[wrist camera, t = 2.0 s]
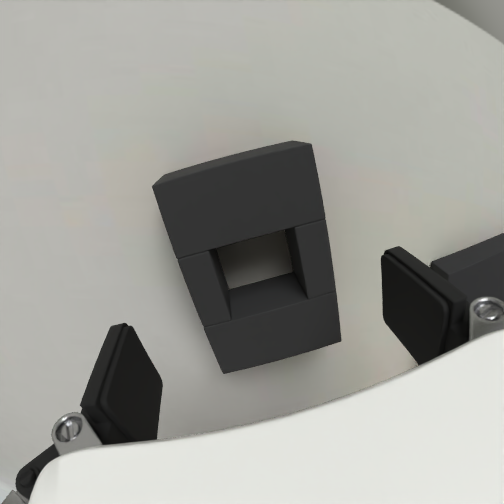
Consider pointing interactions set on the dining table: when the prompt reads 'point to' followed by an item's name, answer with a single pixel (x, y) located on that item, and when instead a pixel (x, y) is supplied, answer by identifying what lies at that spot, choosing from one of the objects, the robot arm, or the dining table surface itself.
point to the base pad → (476, 269)
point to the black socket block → (246, 227)
